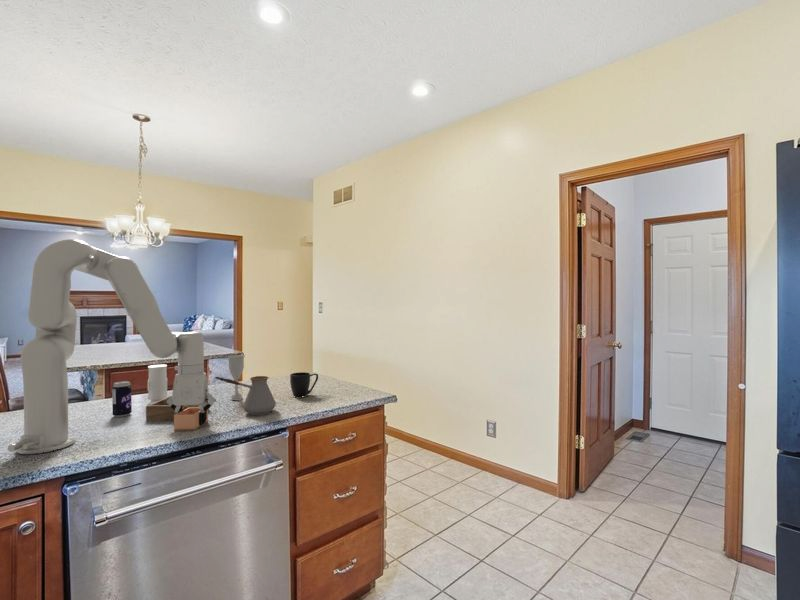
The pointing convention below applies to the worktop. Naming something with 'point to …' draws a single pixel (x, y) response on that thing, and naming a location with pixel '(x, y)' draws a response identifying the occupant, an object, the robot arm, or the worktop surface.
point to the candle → (157, 383)
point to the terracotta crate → (188, 420)
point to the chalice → (236, 372)
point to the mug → (301, 383)
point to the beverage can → (121, 398)
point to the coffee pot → (256, 396)
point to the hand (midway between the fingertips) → (191, 423)
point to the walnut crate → (162, 410)
